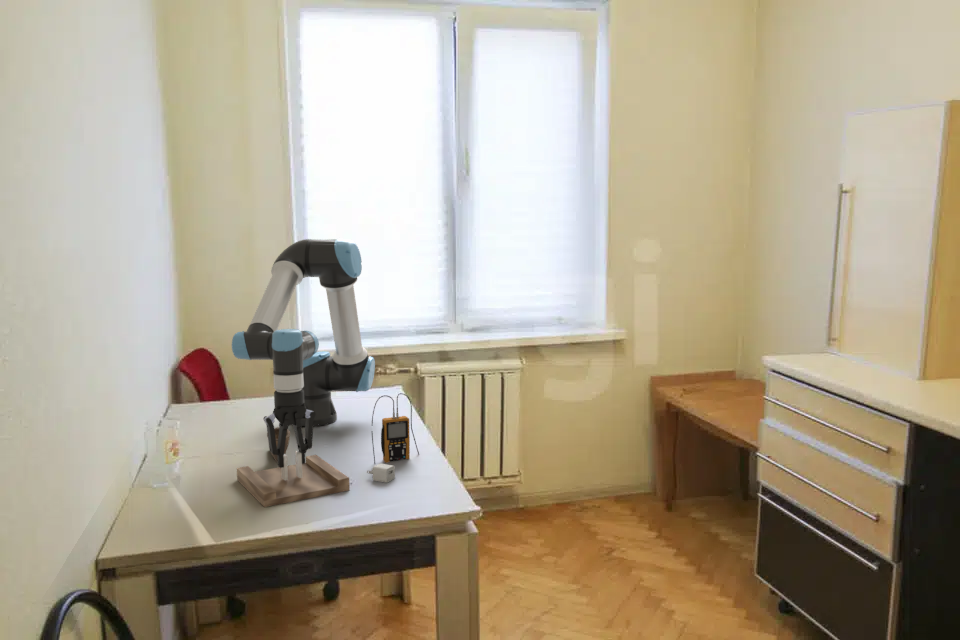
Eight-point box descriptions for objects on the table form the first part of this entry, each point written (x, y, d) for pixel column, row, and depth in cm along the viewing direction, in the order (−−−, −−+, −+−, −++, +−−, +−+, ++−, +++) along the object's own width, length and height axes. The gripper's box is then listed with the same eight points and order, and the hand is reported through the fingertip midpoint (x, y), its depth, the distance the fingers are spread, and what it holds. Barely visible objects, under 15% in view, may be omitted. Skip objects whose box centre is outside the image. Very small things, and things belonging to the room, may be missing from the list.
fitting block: (316, 466, 216) (315, 454, 215) (349, 490, 196) (349, 477, 195) (237, 480, 204) (236, 468, 204) (264, 507, 184) (263, 493, 183)
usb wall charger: (386, 483, 201) (386, 469, 200) (365, 480, 204) (364, 465, 203) (395, 479, 204) (394, 465, 204) (373, 475, 207) (373, 461, 207)
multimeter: (380, 474, 208) (378, 402, 206) (370, 464, 217) (368, 395, 215) (431, 467, 214) (430, 397, 211) (419, 458, 223) (418, 390, 221)
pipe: (286, 449, 233) (285, 417, 231) (292, 465, 217) (291, 430, 216) (264, 451, 230) (263, 419, 229) (269, 467, 215) (267, 432, 214)
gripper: (314, 383, 204) (316, 468, 207) (253, 390, 196) (256, 479, 198) (324, 388, 198) (326, 475, 201) (262, 395, 189) (265, 487, 192)
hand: (292, 477), depth 200 cm, fingers open, 3 cm apart
